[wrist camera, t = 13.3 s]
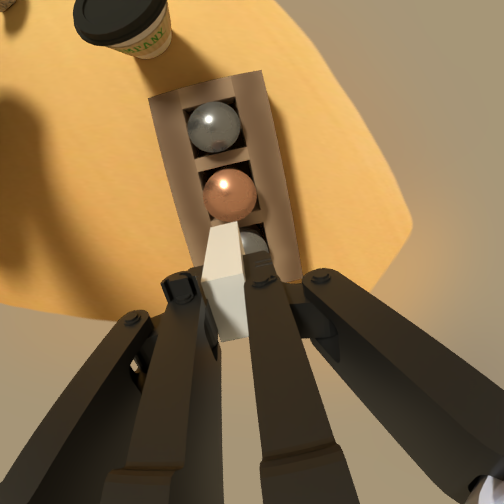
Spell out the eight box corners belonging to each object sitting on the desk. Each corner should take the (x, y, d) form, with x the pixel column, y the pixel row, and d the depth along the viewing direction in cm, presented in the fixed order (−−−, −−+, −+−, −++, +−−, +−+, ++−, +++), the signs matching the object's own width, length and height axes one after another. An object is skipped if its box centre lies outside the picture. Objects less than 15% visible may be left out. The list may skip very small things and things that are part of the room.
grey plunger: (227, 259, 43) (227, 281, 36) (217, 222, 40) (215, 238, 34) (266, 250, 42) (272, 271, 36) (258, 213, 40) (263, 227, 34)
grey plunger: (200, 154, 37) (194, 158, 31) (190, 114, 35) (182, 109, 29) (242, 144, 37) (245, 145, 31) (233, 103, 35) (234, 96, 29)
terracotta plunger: (213, 212, 38) (210, 227, 32) (202, 170, 36) (197, 176, 30) (256, 201, 38) (261, 215, 32) (246, 159, 36) (250, 163, 30)
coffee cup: (104, 61, 31) (50, 34, 17) (137, 4, 28) (100, -44, 14) (164, 80, 33) (130, 50, 19) (198, 20, 30) (183, -33, 16)
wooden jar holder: (207, 280, 44) (205, 300, 39) (159, 103, 35) (147, 98, 29) (293, 260, 44) (303, 278, 38) (256, 79, 34) (261, 70, 29)
